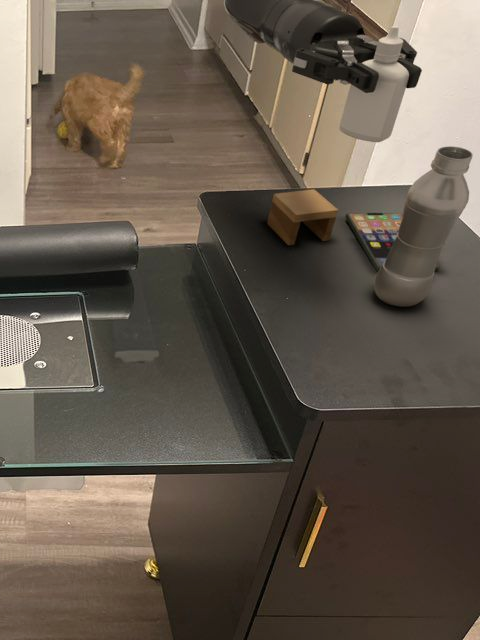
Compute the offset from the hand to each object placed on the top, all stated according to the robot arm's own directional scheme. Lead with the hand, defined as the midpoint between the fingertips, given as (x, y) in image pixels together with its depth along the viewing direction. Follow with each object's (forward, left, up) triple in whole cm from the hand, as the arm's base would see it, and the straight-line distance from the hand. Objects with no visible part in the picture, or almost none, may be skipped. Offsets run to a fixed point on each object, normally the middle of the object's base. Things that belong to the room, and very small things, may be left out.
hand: (394, 81), depth 80 cm
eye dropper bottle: (0, -3, -7) cm, 8 cm away
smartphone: (-15, -10, -28) cm, 33 cm away
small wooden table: (-4, -16, -28) cm, 32 cm away
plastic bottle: (-8, +3, -28) cm, 29 cm away
